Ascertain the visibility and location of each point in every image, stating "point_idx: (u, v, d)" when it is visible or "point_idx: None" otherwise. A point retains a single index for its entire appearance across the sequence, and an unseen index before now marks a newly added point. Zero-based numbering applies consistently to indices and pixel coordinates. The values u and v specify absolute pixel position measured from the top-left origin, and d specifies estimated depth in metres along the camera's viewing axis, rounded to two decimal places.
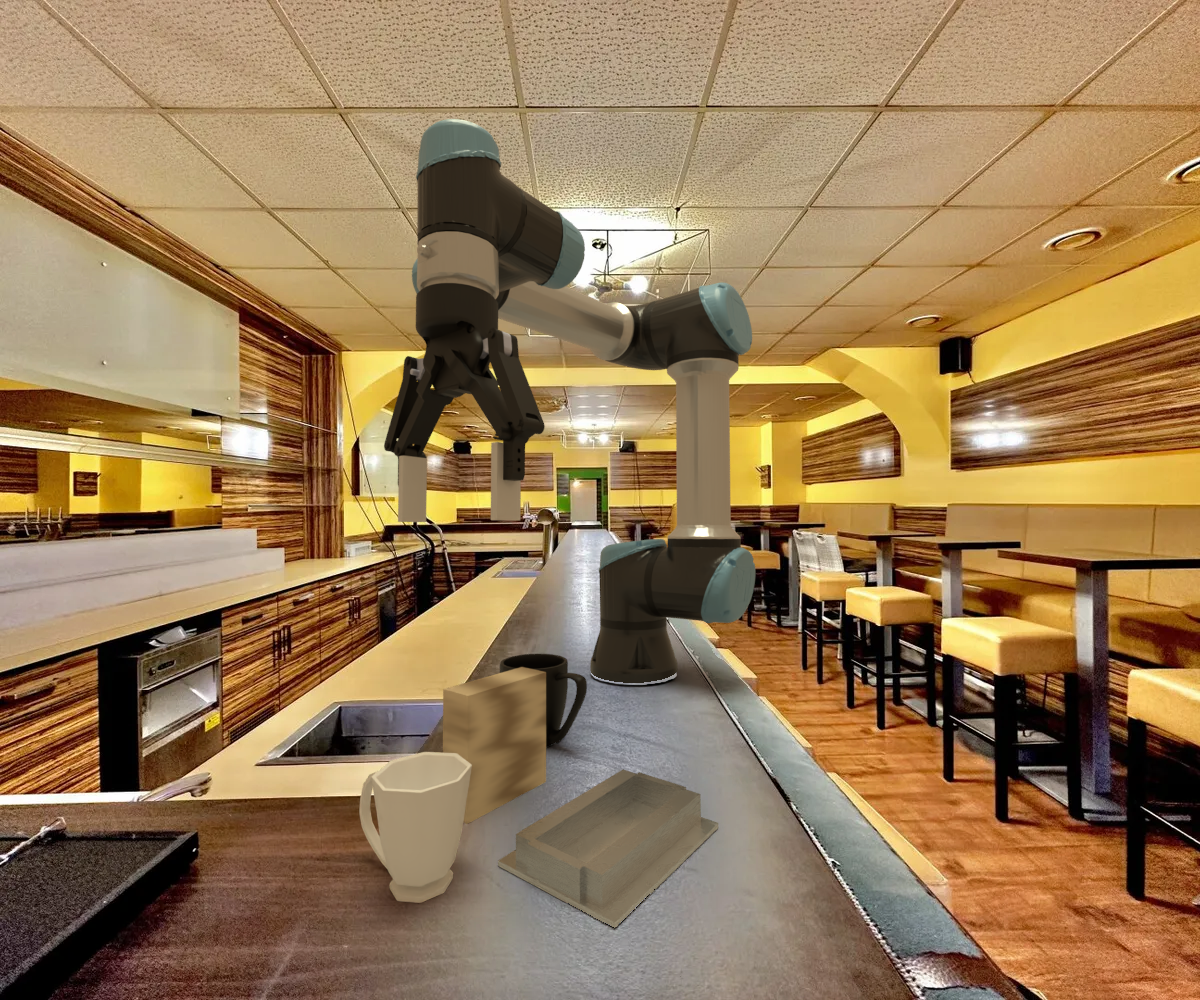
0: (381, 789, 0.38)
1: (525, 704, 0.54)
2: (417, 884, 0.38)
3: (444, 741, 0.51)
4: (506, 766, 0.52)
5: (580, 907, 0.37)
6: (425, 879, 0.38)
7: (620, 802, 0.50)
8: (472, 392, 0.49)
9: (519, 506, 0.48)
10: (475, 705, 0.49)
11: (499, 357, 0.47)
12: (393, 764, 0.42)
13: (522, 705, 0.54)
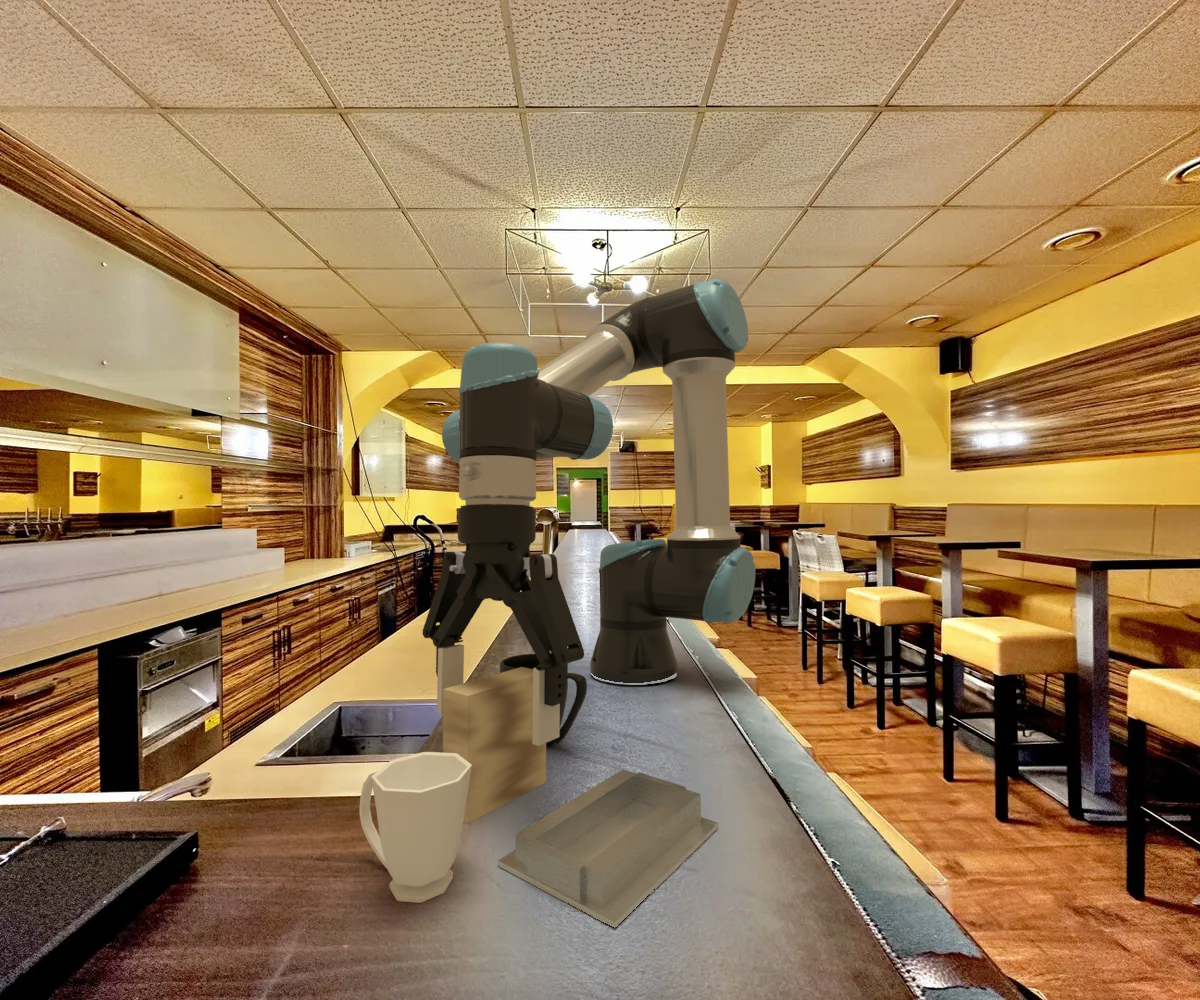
0: (381, 789, 0.38)
1: (525, 704, 0.54)
2: (417, 884, 0.38)
3: (444, 741, 0.51)
4: (506, 766, 0.52)
5: (580, 907, 0.37)
6: (425, 879, 0.38)
7: (620, 802, 0.50)
8: (513, 611, 0.51)
9: (558, 723, 0.50)
10: (474, 705, 0.49)
11: (541, 586, 0.49)
12: (393, 764, 0.42)
13: (522, 705, 0.54)
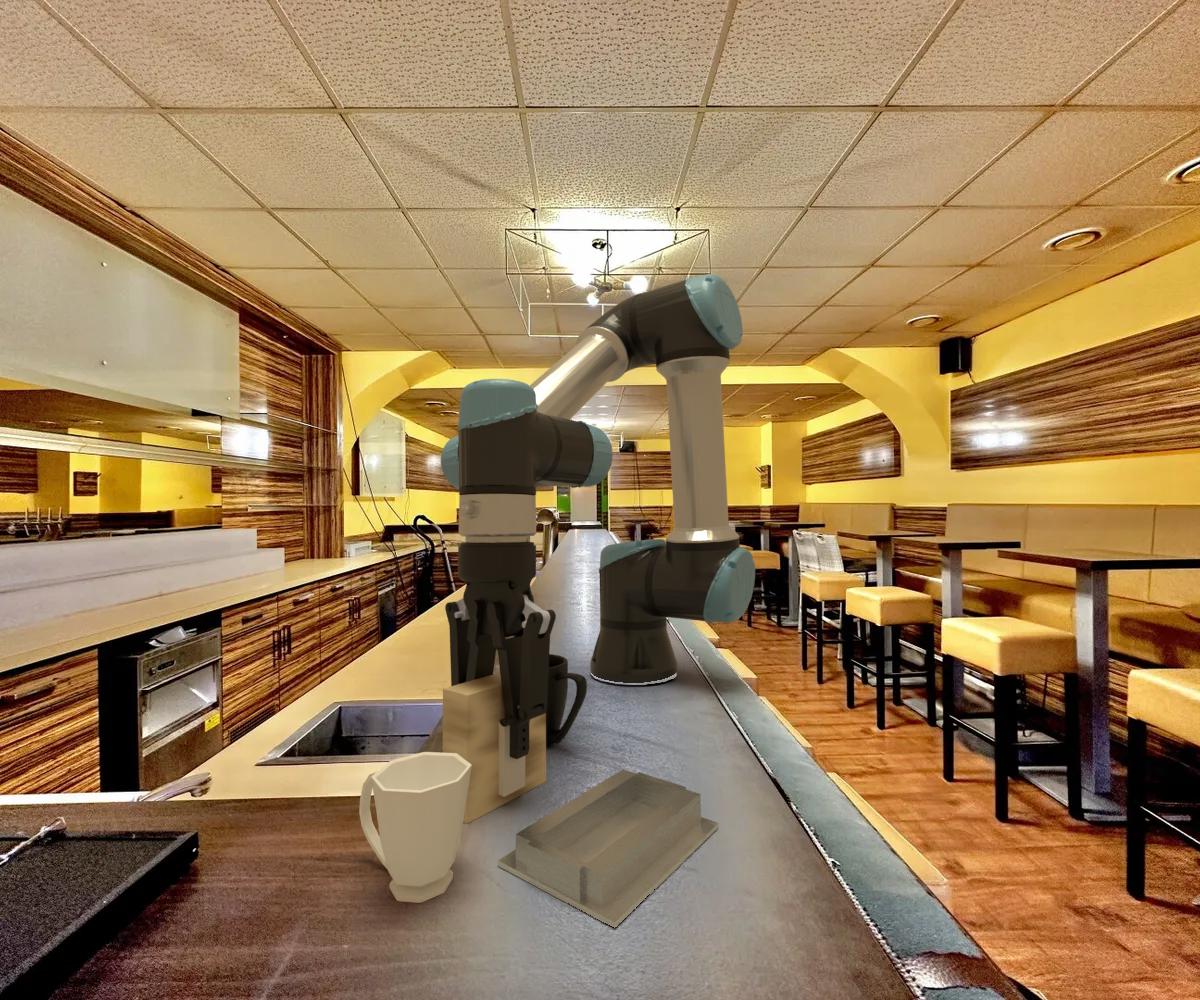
0: (381, 789, 0.38)
1: None
2: (417, 884, 0.38)
3: (444, 741, 0.51)
4: None
5: (580, 907, 0.37)
6: (425, 879, 0.38)
7: (620, 802, 0.50)
8: (499, 654, 0.52)
9: (524, 772, 0.53)
10: (474, 704, 0.49)
11: (530, 645, 0.50)
12: (392, 764, 0.42)
13: None
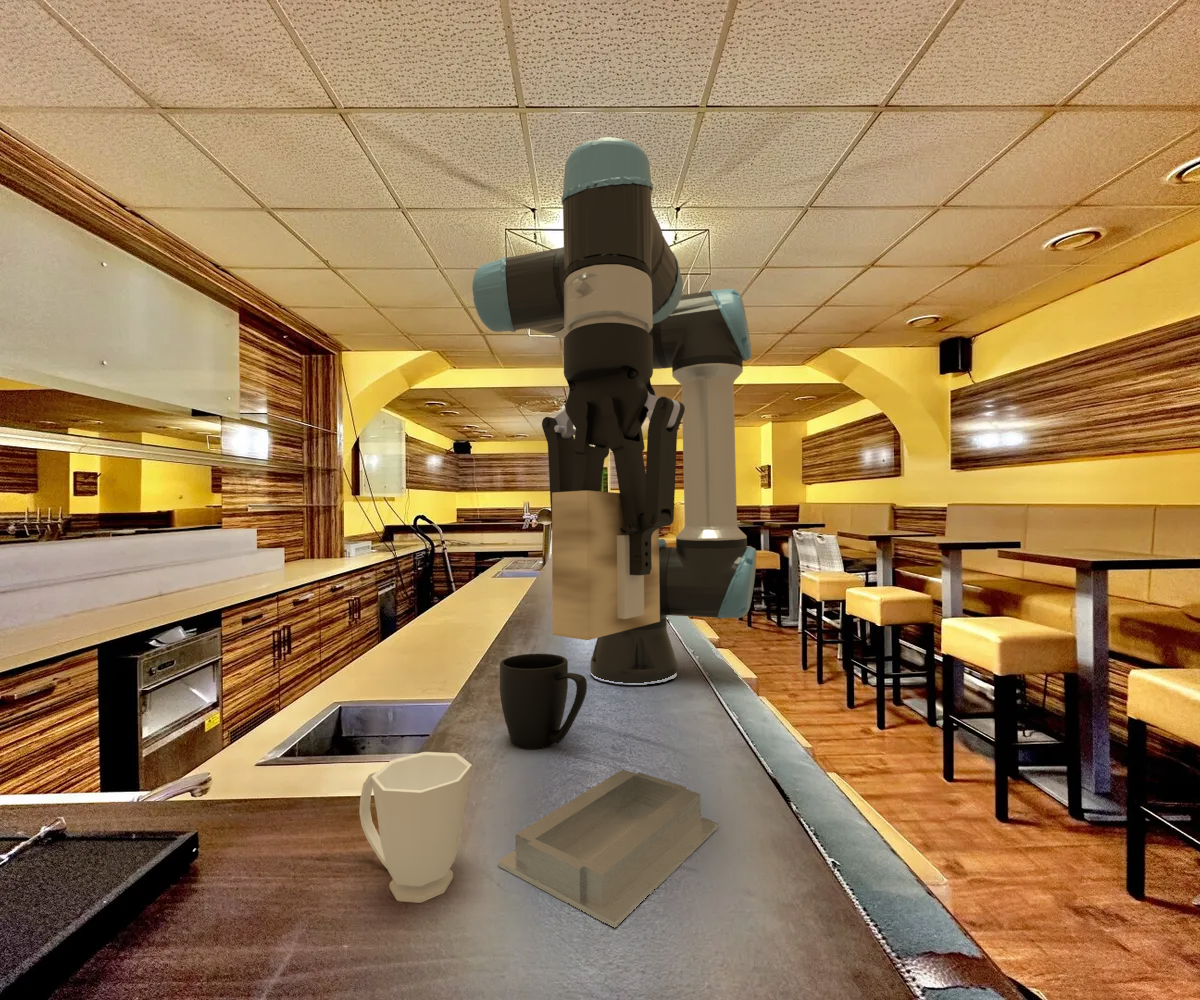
0: (381, 789, 0.38)
1: None
2: (417, 884, 0.38)
3: (554, 552, 0.43)
4: None
5: (580, 907, 0.37)
6: (425, 879, 0.38)
7: (620, 802, 0.50)
8: (615, 458, 0.45)
9: (643, 599, 0.45)
10: (593, 504, 0.42)
11: (659, 435, 0.42)
12: (393, 764, 0.42)
13: None
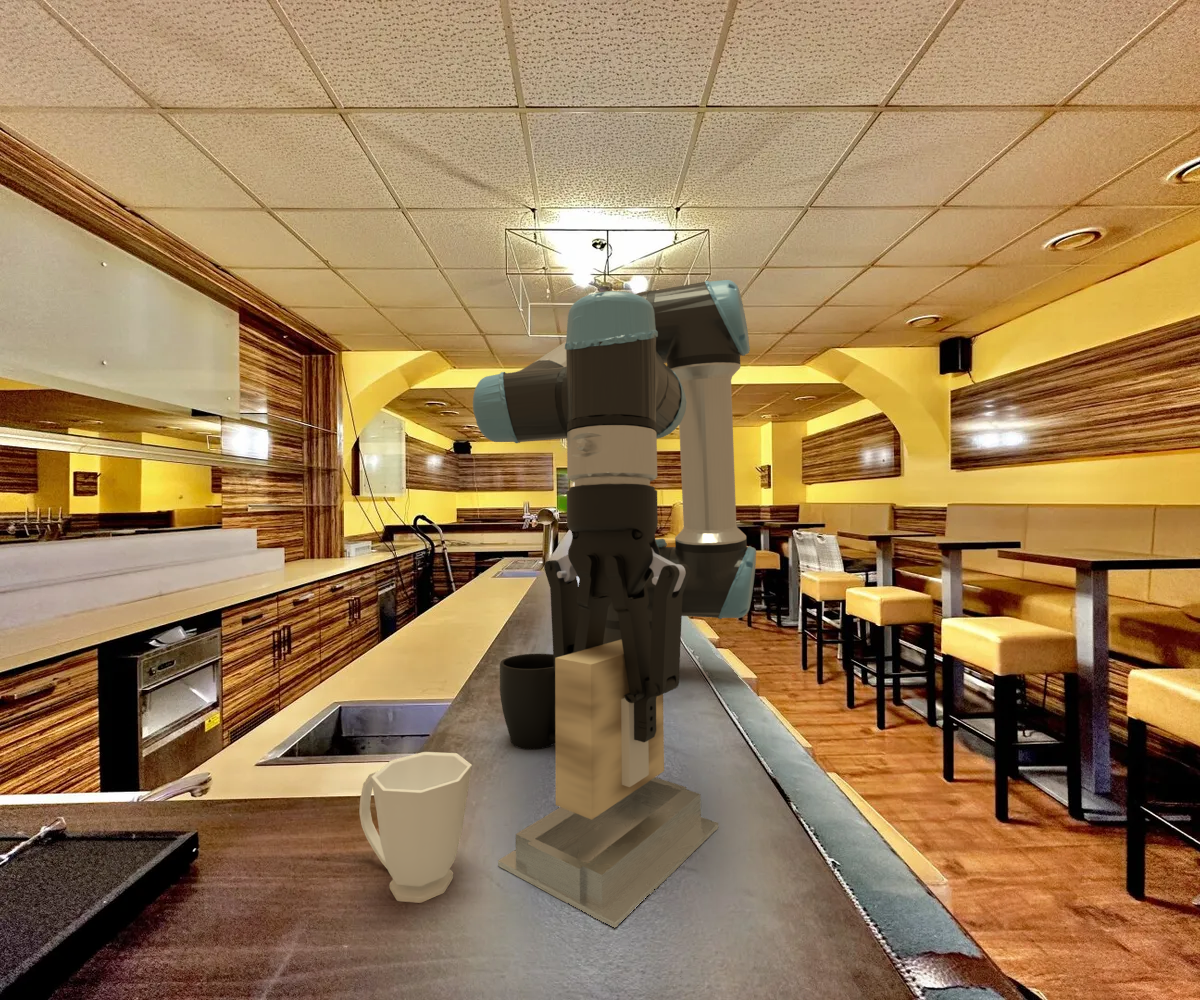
0: (381, 789, 0.38)
1: None
2: (417, 884, 0.38)
3: (557, 720, 0.42)
4: None
5: (580, 907, 0.37)
6: (425, 879, 0.38)
7: (620, 802, 0.50)
8: (620, 618, 0.44)
9: (647, 759, 0.45)
10: (597, 676, 0.41)
11: (665, 604, 0.41)
12: (393, 764, 0.42)
13: None
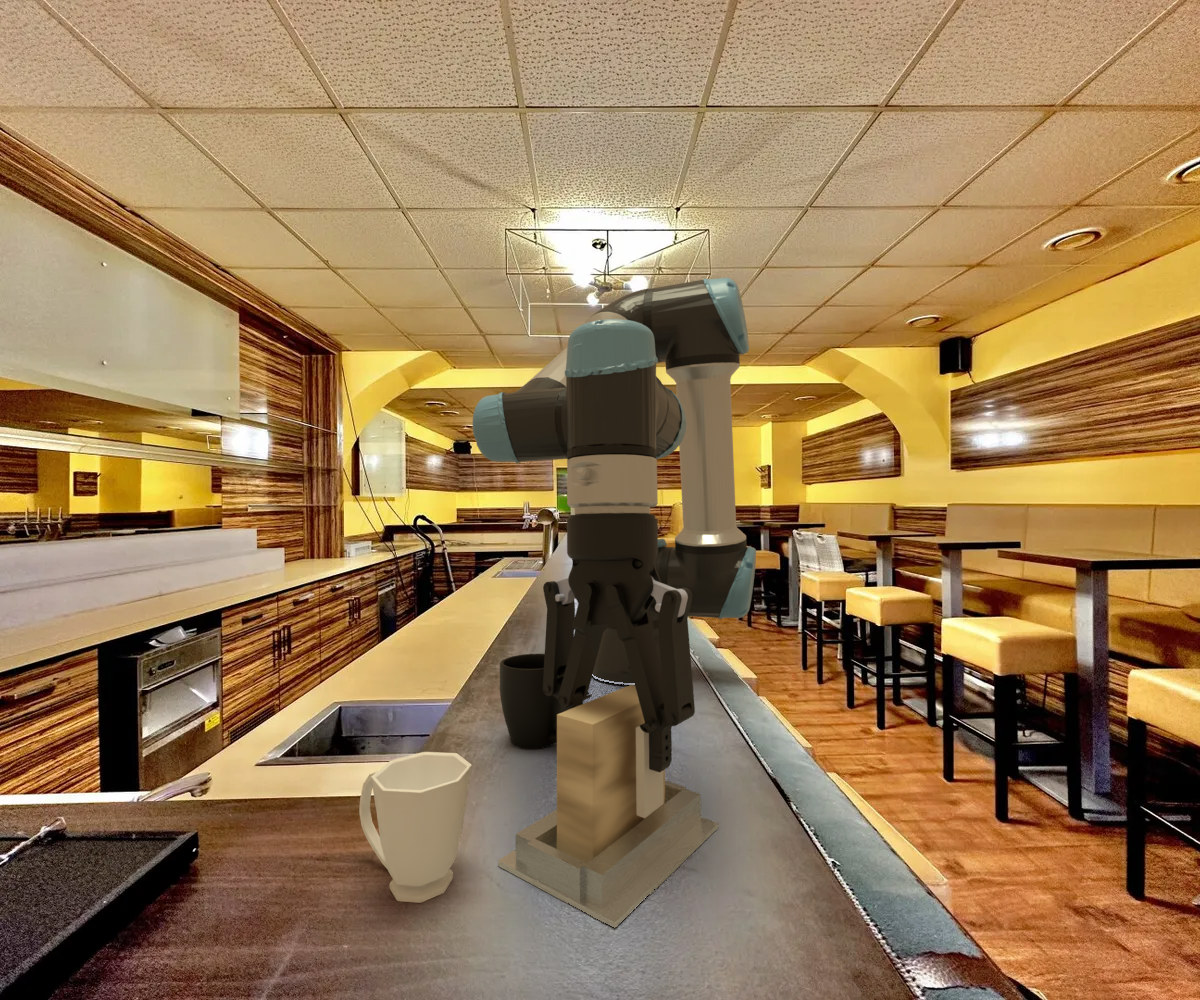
0: (381, 789, 0.38)
1: None
2: (417, 884, 0.38)
3: (559, 777, 0.42)
4: (629, 806, 0.44)
5: (580, 907, 0.37)
6: (425, 879, 0.38)
7: None
8: (626, 647, 0.43)
9: (662, 788, 0.44)
10: (599, 735, 0.41)
11: (671, 630, 0.41)
12: (392, 764, 0.42)
13: None
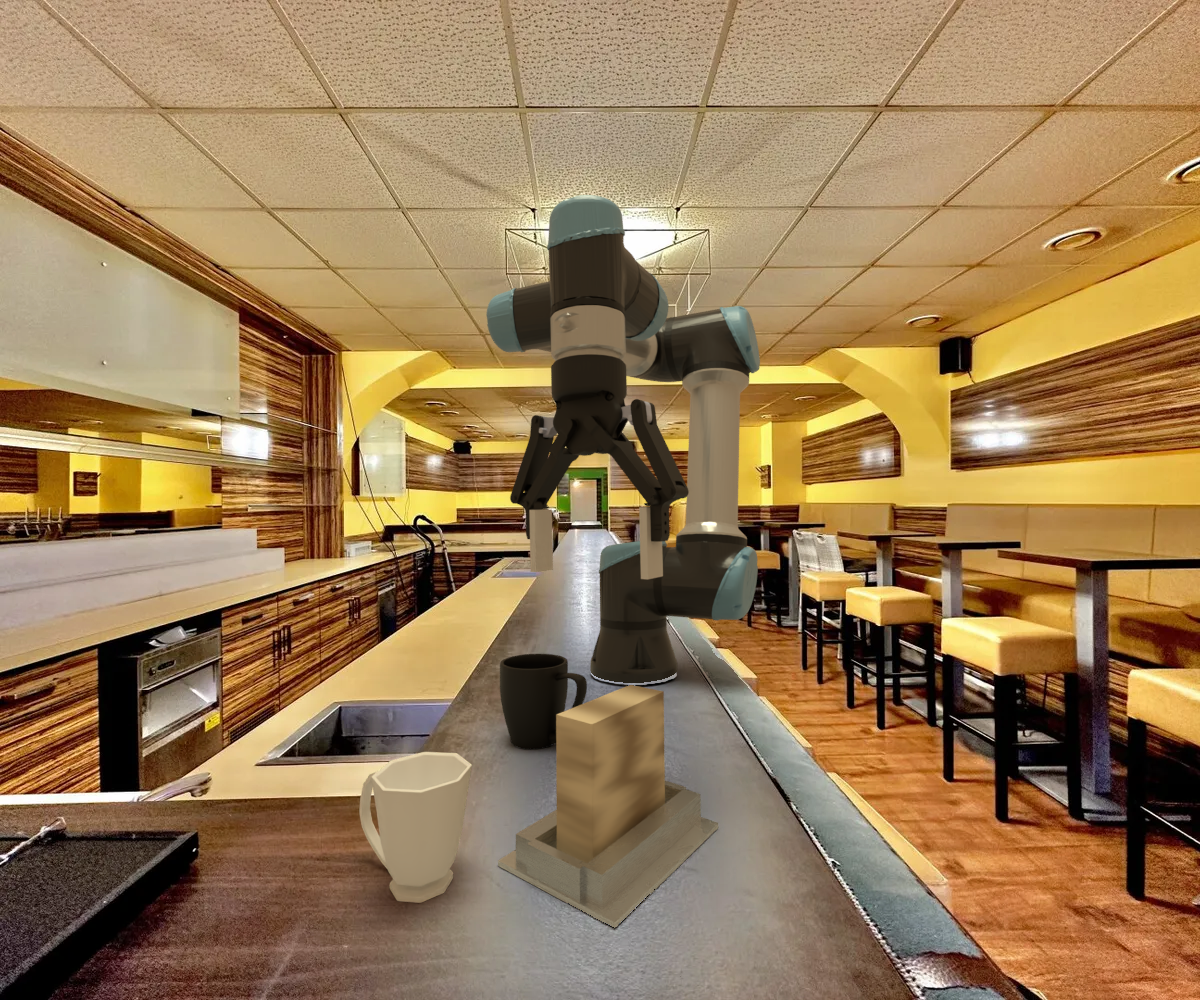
0: (381, 789, 0.38)
1: (646, 730, 0.46)
2: (417, 884, 0.38)
3: (558, 777, 0.42)
4: (629, 806, 0.44)
5: (580, 907, 0.37)
6: (425, 879, 0.38)
7: None
8: (614, 457, 0.52)
9: (662, 563, 0.52)
10: (599, 735, 0.41)
11: (645, 427, 0.50)
12: (393, 764, 0.42)
13: (642, 732, 0.45)
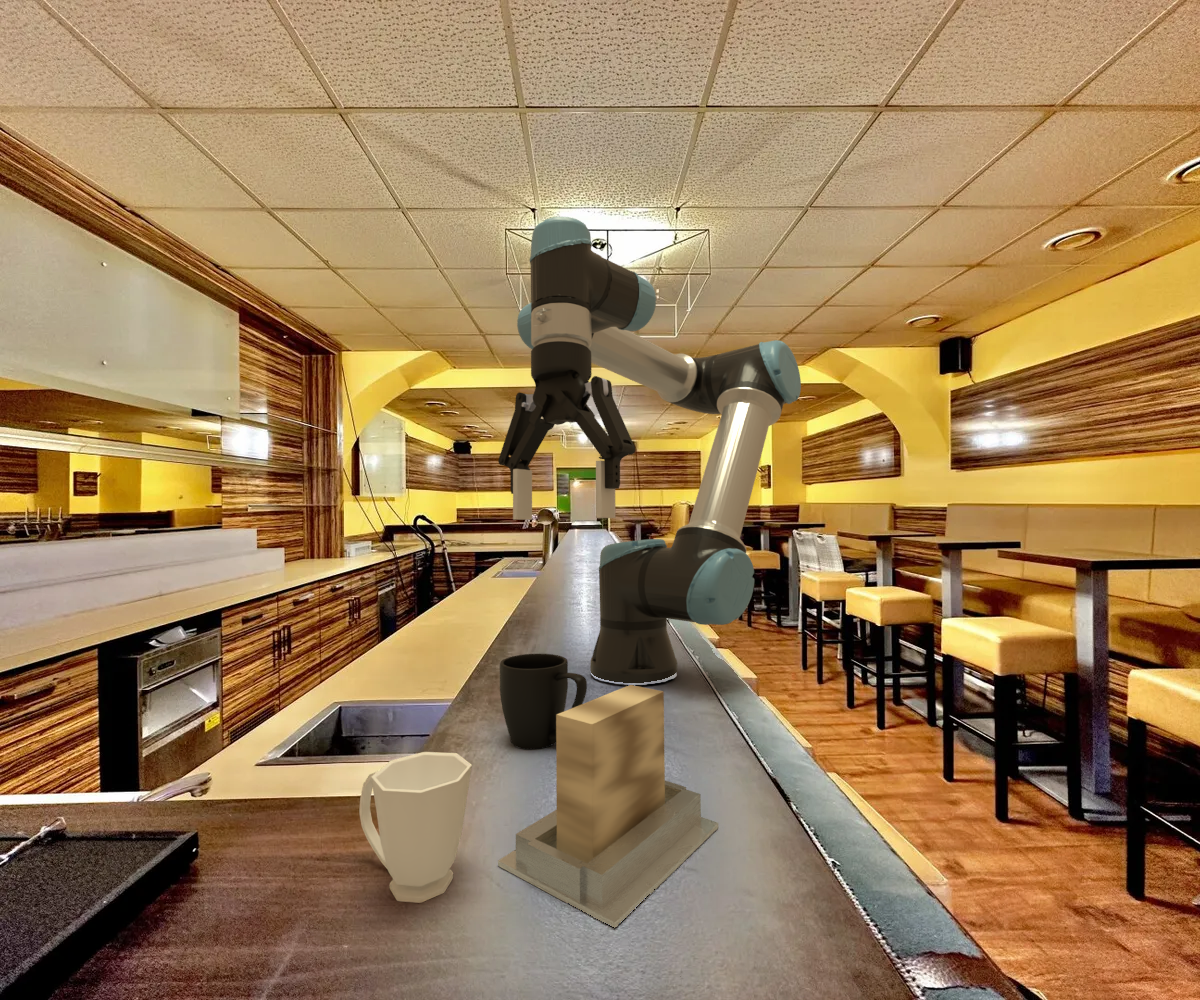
0: (381, 789, 0.38)
1: (646, 730, 0.46)
2: (417, 884, 0.38)
3: (558, 777, 0.42)
4: (629, 806, 0.44)
5: (580, 907, 0.37)
6: (425, 879, 0.38)
7: None
8: (578, 423, 0.66)
9: (614, 507, 0.65)
10: (599, 735, 0.41)
11: (601, 398, 0.64)
12: (392, 764, 0.42)
13: (642, 732, 0.45)
